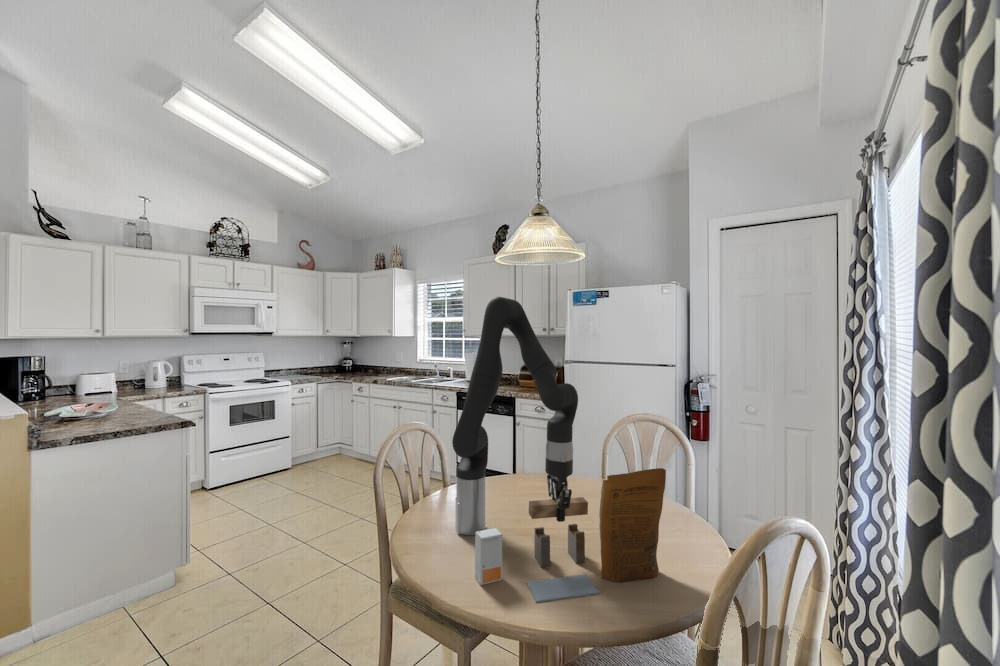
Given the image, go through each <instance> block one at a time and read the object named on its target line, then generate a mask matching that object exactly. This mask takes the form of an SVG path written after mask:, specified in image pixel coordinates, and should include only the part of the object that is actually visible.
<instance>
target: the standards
mask: <svg viewBox="0 0 1000 666" xmlns="http://www.w3.org/2000/svg"><path fill="white" fill-rule="evenodd" d="M585 539H586V538H585V531H584V530H582V531H580V530H579V529H578V524H577V523H571V524H568V525H567V554H568V555H569V556H570V557H571V559H572V560H573V562H574V563H575V565H576V564H584V563H585V562H586V561H585V559H586V558H585V557H586V555H585V553H586V551H585V550H586V548H585V547H586V546H585V545H586V543H585V542H586V540H585ZM534 559H535V560H536V562H537V564H538V565H539V567H540V569H545V568H551V536H550V535H549V534H546V533H545V528H544V527H534Z"/></svg>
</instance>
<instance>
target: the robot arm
mask: <svg viewBox="0 0 1000 666" xmlns="http://www.w3.org/2000/svg"><path fill="white" fill-rule="evenodd" d="M482 323H483V324H482V328H481V335H480V339H479V343H478V344H479V345H478V350H477V353H476V357H475V361H474V365H473V368H472V371H471V375H470V380H469V383H468V384H469V385H468V388H467V392H466V394H465V395H466V396H465V400H464V403H463V408H462V411H461V415H460V417H459V419H458V422H457V425H456V427H455V430H454V432H453V436H452V448H453V452H455V453H454V454H456V455H457V456H458V457H460V458H461V459H460V461H459V463H458V465H457V466H456V480H455V481H456V483H455V484H456V487H455V489H456V490H455V491H456V496H455V529H456V533H457V535H463V536H464V535H465V536H475V532H477V531H483V530H486V470H487V467H488V460H489V436H488V433H487V431H486V429H485V427H484V426H482V424H483V420H484V418H485V415H486V414H487V412H488V410H489V408H490V407H491V405H492V403H493V401H494V399H495V397H496V395H497V393H498V390H499V387H500V384H501V380H502V376H503V372H504V371H503V362H502V360H503V359H502V355H501V347H500V346H501V340H502V335H503V333H504V332H503V331H504V329H508V330H509V331H510V332H511V333H512V334H513V335H514V337H515V338H516V340H517V342H518V345H519V349H520V354H521V359H522V361H523V363H524V366H525V367H526V368H527V371H528V372H529V374H530V375H531V377H532V379H533V380H534V381H535V385H536V389H537V392H538V394H539V398H540V400H541V402H542V404H543V405H544V406H545V407H546V408H547V409H548V410H550V411H554V415H553V416H552V417H550V418H549V419H548V421H547V425H546V444H545V465H544V466H545V473H546V474H547V476H546V481H547V489H548V490H547V492H548V497H550V500H551V499H556V503H557V517H555V518H556V519H555V520H556V521H557V523H559V522H562V523H563V522H565V521H566V516H565V508H569V504H570V499H571V498H572V493H573V492H572V489H571V488H570V489H568V488H569V482H568V477H569V476H572V475H573V473H574V472H573V471H574V470H573V468H574V446H573V425H574V421H575V418H576V414H577V410H578V405H579V396H578V391H577V389H576V388H575V386H574V385H572V384H571V383H566V382H565V383H559V384H558V383H557V382H556V380H555V378H556V377H557V375H558V369H557V368H556V366H555V364H554V363H553V361H552V359H551V358H550V357H549V355H548V354H547V353H546V351H545V349H544V348H543V346H542V345H541V342H540V341H539V339H538V338H537V335H536V333H535V331H534V330H533V326H532V325H531V323H530V320H529V318H528V316H527V314H526V312H525V309H524V308H523V306H522V304H521V303H520V302H519V301H518V300H515V299H511V298H507V297H503V296H495V297H492V298H491V299H490V300H489V302H488V303H487V305H486V307H485V311H484V316H483V322H482ZM559 500H560V502H559Z"/></svg>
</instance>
